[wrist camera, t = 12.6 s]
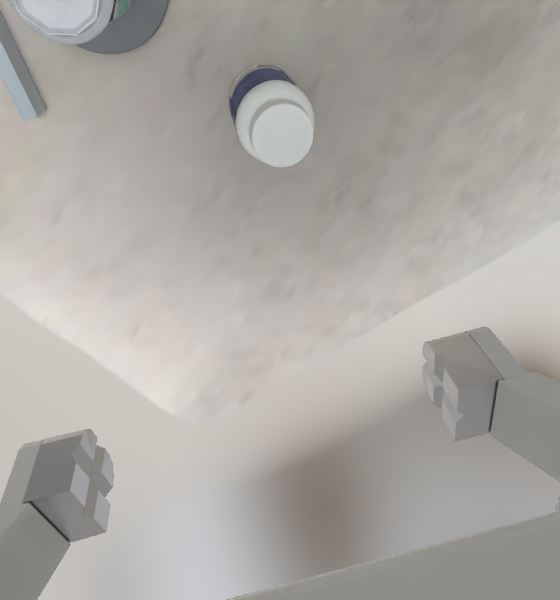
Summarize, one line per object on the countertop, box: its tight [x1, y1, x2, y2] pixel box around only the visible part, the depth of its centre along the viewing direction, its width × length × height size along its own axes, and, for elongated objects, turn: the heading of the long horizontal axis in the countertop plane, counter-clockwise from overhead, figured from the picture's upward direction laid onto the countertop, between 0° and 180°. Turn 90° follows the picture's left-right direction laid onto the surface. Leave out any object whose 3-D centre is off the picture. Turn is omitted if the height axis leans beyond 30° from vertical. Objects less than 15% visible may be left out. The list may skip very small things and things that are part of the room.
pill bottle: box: [229, 64, 315, 167], centre depth 33 cm, size 5×5×10 cm
